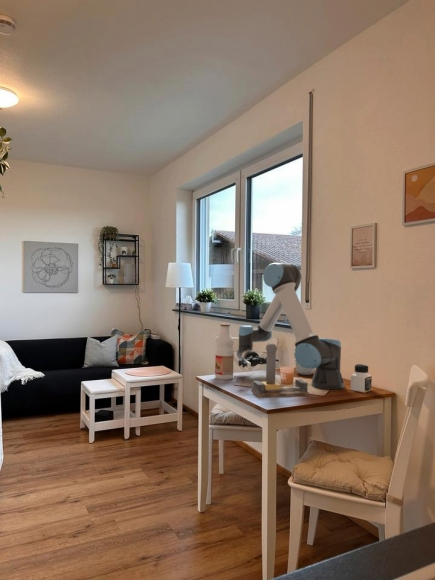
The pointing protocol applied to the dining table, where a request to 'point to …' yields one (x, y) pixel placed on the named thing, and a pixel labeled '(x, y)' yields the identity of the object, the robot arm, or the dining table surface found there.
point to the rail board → (281, 390)
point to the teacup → (304, 369)
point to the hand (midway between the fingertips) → (264, 365)
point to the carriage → (271, 368)
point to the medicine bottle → (361, 379)
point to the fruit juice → (224, 354)
